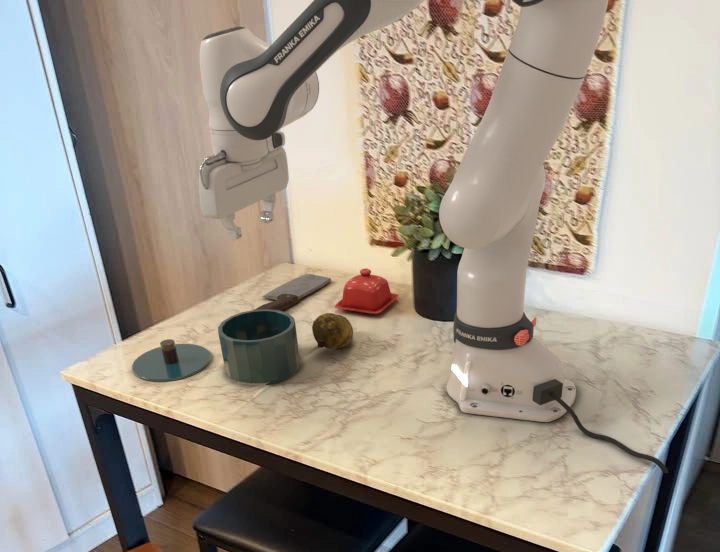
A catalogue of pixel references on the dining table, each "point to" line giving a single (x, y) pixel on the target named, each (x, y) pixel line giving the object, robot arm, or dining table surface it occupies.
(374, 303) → the butter dish
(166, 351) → the lid
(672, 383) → the dining table surface
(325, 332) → the potato
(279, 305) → the cleaver
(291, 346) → the pot
